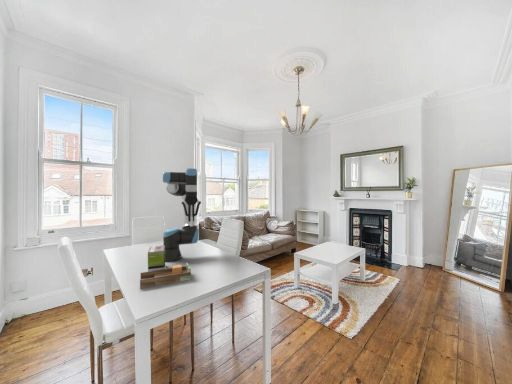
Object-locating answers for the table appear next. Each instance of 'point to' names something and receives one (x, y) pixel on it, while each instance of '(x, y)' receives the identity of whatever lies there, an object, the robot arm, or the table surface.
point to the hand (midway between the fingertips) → (191, 226)
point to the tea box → (156, 258)
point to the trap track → (164, 277)
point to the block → (176, 269)
